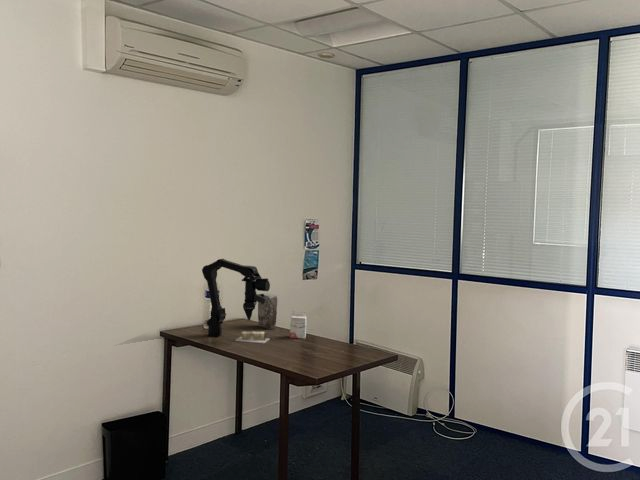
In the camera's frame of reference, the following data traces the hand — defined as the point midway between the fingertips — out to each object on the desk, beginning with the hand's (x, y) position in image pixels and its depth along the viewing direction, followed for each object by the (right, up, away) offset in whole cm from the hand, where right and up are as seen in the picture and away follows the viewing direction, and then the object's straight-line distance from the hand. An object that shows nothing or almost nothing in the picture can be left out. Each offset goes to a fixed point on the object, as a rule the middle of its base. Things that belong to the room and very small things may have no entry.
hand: (249, 318), depth 333 cm
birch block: (-5, -9, +1) cm, 10 cm away
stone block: (+6, -10, +35) cm, 37 cm away
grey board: (+2, -12, +1) cm, 12 cm away
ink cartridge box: (+26, -12, +12) cm, 31 cm away
